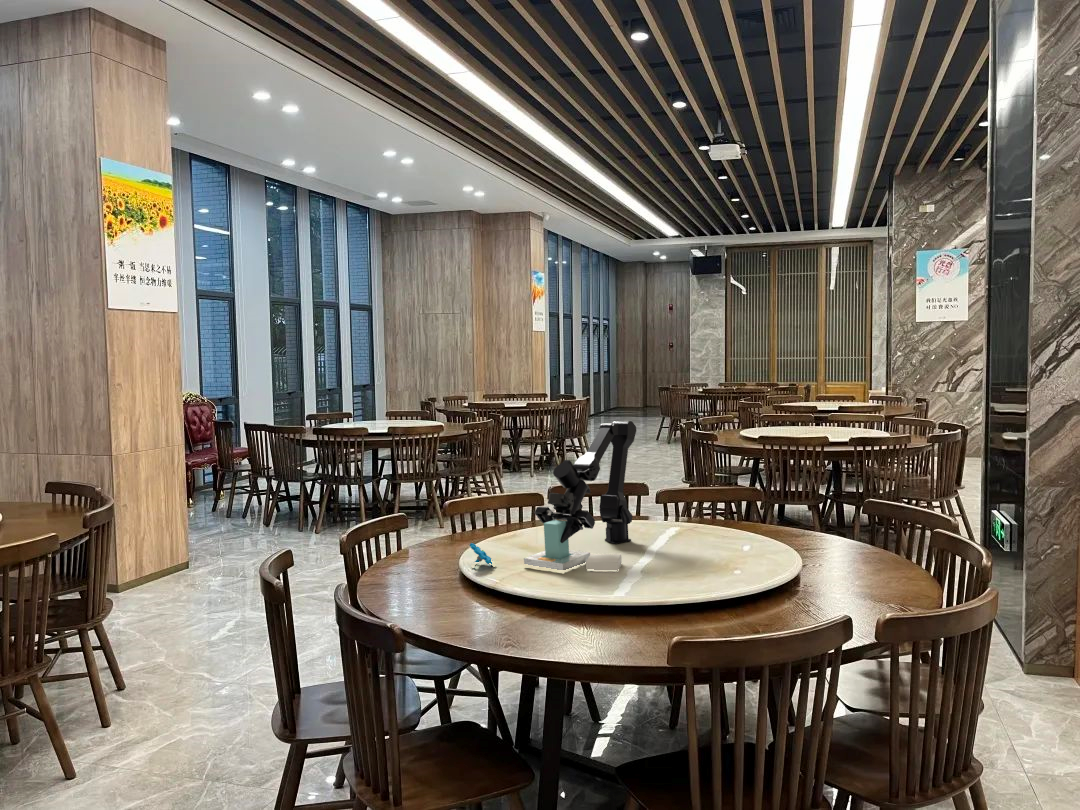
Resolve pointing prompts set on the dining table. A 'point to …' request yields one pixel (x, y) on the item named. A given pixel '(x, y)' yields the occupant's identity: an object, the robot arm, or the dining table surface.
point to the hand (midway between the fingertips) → (553, 541)
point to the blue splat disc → (480, 554)
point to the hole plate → (558, 560)
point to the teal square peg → (555, 540)
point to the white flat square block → (604, 561)
